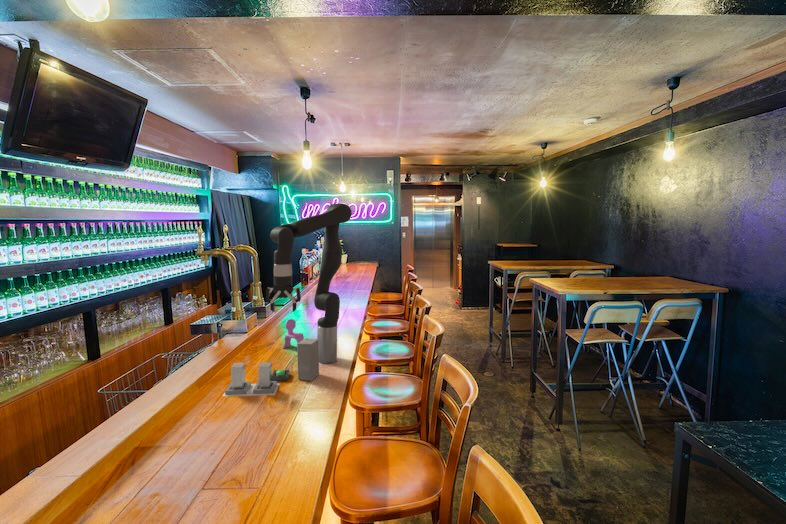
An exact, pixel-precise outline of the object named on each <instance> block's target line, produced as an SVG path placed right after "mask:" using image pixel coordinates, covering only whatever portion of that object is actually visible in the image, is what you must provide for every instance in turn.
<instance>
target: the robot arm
mask: <svg viewBox="0 0 786 524" xmlns="http://www.w3.org/2000/svg"><path fill="white" fill-rule="evenodd" d="M352 214H353V213H352V209H351V207H350V206H349V205H348V204H346V203H332V204H330V205H328V207H327V209H326V212H324V213H320V214H316V215H312V216H307V217H304V218H302V219H298V220H297V221H294V222H290V223H286V224H282V225H278V226H276V227H274V228H273V229H272V230H271V231H270V234H269V236H270V239H271V241H272V242H273V243H276V244H277V245H278V246H277V250H274V251H273V287H267V288H266V289H265V302H266V303H269V304H270V308H269V309H270V311H271V312H272V313H274V312H275V310H276V307H275V301H276V300H277V298H279V299H282V298H283V299H287V298H289V300H290V301H291V302H292V312H293V313H294V312H295V311H297V304H298V303H300V301H301V299H302V297H301V287H300V286H298V287H294V286H293V267H292V253H293V247H294V243H295V238H302V237H304V236H307V235H310V234H312V233H314V232H317V231H319V230H322V229H325V230H324V241H323V248H322V254H321V263H320V270H319V275H318V276H319V277H318V281H317V285H316V290H315V294H314V298H313V303H314V308H316V309H317V310H319V311H323V312H324V316H323V317H320V318H319V319H317V336H316V337H317V338H316V339H318V351H319V364H333V363H337V360H338V359H337V358H338V321H339V318H340V307H341V305H340V304H341V299H340V296H339V294H338V293H335V292H331V291H330V285H331V281H332V279H333V278H334V276H335V275H336V274H337V272H338V270H340V267H341V264H342V257H343V249H342V248H343V247H342V244H341V241H340V237H339V230H340V224H345V223H347V222H348V221H350V219H351V218H352ZM272 291H273V293H274V296H273V297H272V299H271V293H272ZM293 292H294V293H296V297H295V296H294V294H293Z"/></svg>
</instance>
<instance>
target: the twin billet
mask: <svg viewBox="0 0 786 524" xmlns="http://www.w3.org/2000/svg"><path fill="white" fill-rule="evenodd" d="M230 380H231V381H230V383H231V389H244V388H245V382H246V362H233V364H232V365H231V366H230Z"/></svg>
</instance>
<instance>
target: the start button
mask: <svg viewBox="0 0 786 524" xmlns="http://www.w3.org/2000/svg"><path fill="white" fill-rule="evenodd" d="M276 370H277V369H276ZM285 370H286V369H282V368H281V369H278V370H277V371H276V376H278V375H285Z"/></svg>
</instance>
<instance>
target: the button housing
mask: <svg viewBox="0 0 786 524" xmlns="http://www.w3.org/2000/svg"><path fill="white" fill-rule="evenodd" d="M284 370H285V375H278V376H276V371H277V369H274V370H273V372H272V381H277V382H288V381H289V377H290V375H291V374H290V373H291V372H290V369H284Z"/></svg>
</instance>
